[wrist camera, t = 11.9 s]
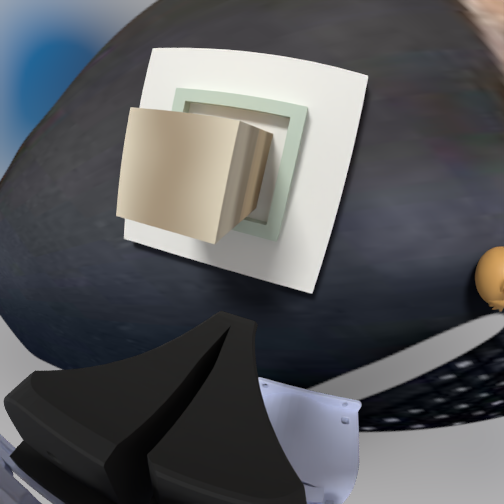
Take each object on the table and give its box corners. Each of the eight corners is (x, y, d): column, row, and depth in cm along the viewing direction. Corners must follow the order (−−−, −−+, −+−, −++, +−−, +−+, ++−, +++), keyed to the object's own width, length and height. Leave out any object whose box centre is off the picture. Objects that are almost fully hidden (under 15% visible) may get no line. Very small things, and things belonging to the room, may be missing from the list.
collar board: (365, 79, 15) (370, 72, 13) (312, 287, 20) (311, 299, 18) (159, 51, 17) (146, 45, 15) (131, 234, 22) (117, 241, 20)
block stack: (273, 133, 17) (239, 120, 10) (256, 208, 18) (214, 244, 11) (200, 120, 17) (130, 107, 10) (187, 191, 19) (116, 215, 12)
